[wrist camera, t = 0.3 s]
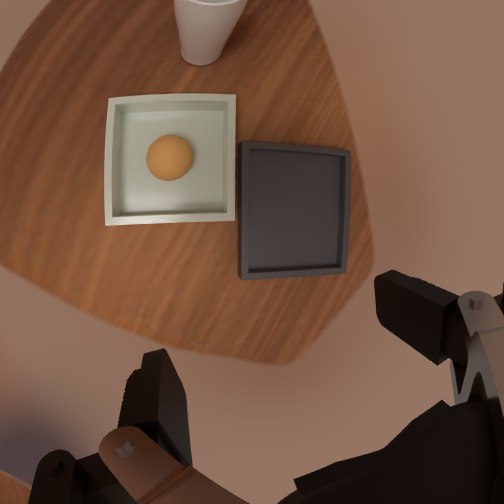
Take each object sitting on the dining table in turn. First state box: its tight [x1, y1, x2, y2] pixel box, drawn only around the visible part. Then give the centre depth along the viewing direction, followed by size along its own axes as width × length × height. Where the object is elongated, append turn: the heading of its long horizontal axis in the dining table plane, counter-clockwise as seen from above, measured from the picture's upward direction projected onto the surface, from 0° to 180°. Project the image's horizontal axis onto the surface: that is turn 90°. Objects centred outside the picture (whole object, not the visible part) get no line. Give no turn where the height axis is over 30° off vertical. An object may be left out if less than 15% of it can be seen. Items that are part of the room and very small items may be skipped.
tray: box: [238, 141, 351, 280], centre depth 36 cm, size 16×14×2 cm
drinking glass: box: [173, 0, 248, 66], centre depth 23 cm, size 7×7×15 cm
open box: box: [104, 94, 236, 226], centre depth 30 cm, size 14×14×5 cm
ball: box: [146, 135, 193, 181], centre depth 29 cm, size 5×5×5 cm
